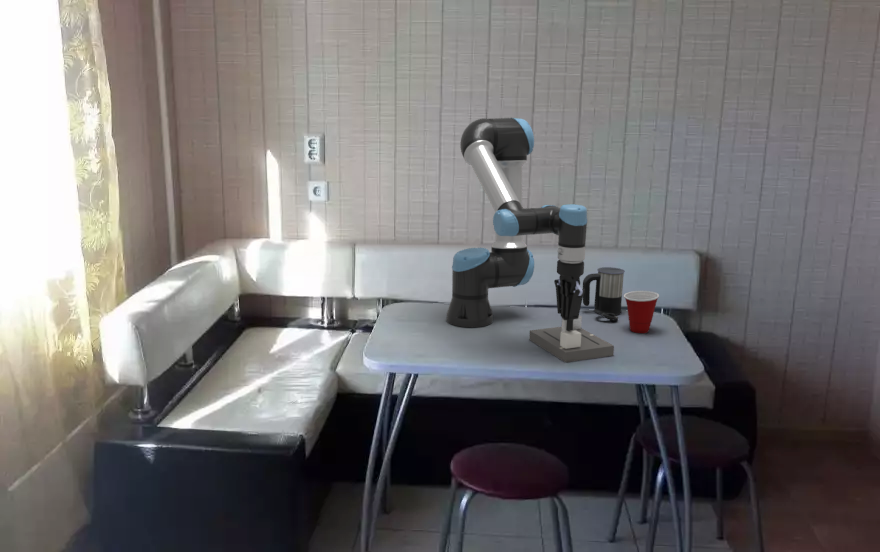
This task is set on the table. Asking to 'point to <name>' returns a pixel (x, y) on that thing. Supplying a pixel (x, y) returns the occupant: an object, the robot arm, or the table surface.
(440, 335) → the table surface
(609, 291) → the milk frother
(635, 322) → the plastic cup
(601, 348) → the slider panel
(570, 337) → the fader
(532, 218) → the robot arm
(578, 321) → the fader
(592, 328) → the table surface
